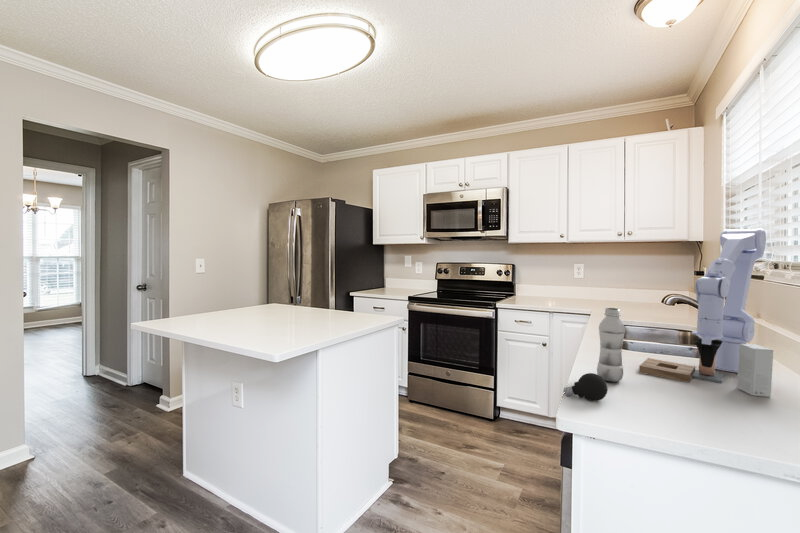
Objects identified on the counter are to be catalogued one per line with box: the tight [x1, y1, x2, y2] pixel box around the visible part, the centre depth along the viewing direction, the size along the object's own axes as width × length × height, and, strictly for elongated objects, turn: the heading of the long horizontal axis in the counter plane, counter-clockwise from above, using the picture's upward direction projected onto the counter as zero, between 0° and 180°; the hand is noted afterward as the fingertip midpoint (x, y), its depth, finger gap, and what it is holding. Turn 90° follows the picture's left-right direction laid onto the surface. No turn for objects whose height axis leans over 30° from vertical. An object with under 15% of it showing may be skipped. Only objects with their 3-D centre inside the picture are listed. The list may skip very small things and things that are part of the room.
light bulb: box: [562, 372, 608, 402], centre depth 93 cm, size 6×6×10 cm
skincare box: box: [736, 343, 774, 398], centre depth 99 cm, size 6×4×12 cm
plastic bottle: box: [596, 307, 626, 383], centre depth 106 cm, size 6×7×20 cm
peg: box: [698, 354, 716, 375], centre depth 111 cm, size 4×4×6 cm
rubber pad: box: [692, 368, 725, 384], centre depth 111 cm, size 8×7×1 cm
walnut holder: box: [638, 357, 696, 383], centre depth 115 cm, size 12×12×2 cm
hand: (707, 365), depth 111 cm, fingers closed on peg, 4 cm apart
